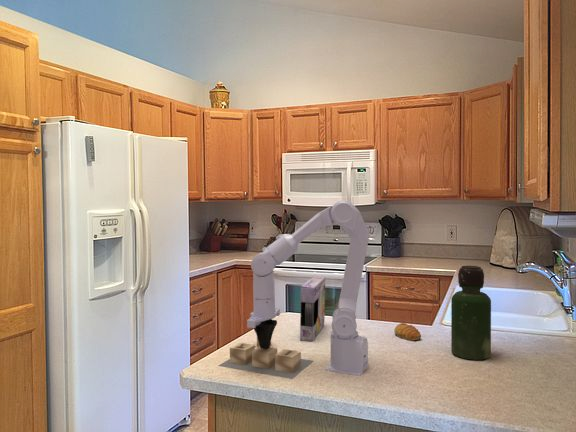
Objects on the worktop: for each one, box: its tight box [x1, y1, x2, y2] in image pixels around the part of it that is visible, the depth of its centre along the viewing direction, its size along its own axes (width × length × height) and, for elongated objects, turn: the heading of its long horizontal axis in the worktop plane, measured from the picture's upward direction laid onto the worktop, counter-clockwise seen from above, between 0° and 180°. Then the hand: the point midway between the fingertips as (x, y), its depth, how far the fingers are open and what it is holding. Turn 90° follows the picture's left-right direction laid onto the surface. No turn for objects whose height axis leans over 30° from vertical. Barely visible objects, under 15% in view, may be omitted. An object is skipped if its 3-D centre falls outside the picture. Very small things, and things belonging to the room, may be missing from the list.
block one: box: [275, 348, 302, 373], centre depth 121 cm, size 5×5×4 cm
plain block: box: [252, 346, 278, 369], centre depth 124 cm, size 5×5×4 cm
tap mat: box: [217, 358, 315, 380], centre depth 125 cm, size 22×14×1 cm, turn 64°
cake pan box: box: [299, 276, 326, 342], centre depth 154 cm, size 19×5×18 cm, turn 164°
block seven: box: [229, 342, 256, 365], centre depth 127 cm, size 5×5×4 cm
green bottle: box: [450, 265, 492, 361], centre depth 131 cm, size 10×10×25 cm
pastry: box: [394, 322, 422, 341], centre depth 149 cm, size 9×7×4 cm
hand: (264, 348), depth 124 cm, fingers closed
